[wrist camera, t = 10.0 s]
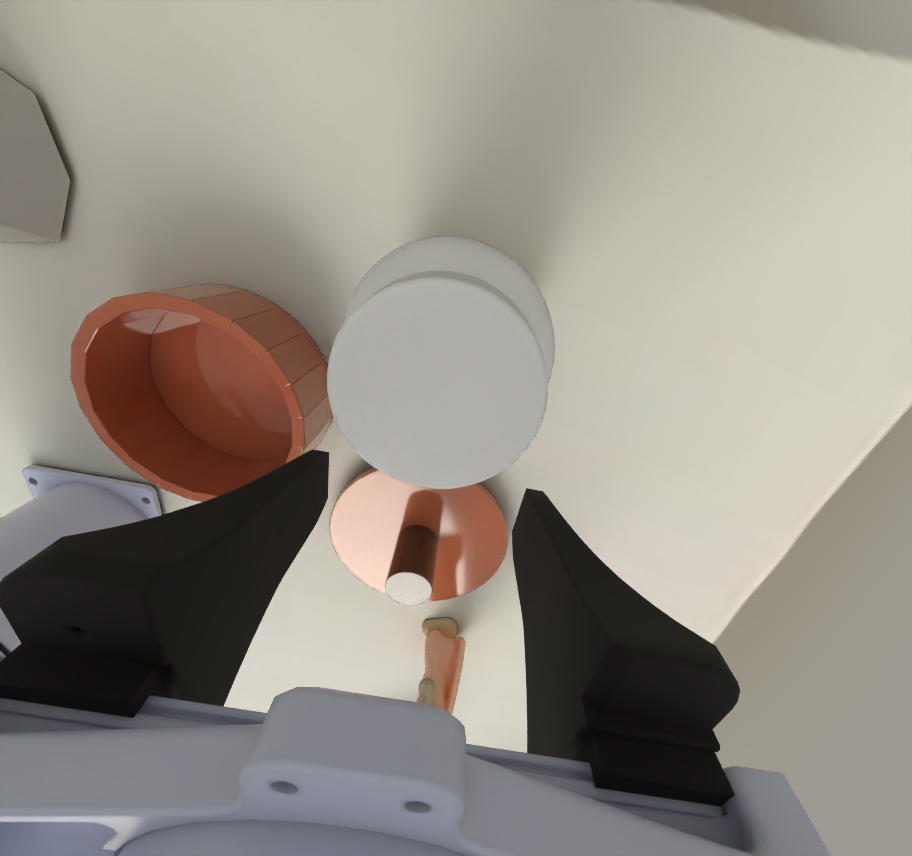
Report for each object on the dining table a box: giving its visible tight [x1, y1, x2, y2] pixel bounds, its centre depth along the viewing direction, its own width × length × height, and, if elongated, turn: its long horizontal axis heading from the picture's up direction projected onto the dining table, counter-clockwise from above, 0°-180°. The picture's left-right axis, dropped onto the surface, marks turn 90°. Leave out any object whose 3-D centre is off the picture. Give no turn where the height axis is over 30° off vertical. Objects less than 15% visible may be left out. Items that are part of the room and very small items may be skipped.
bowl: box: [70, 284, 333, 502], centre depth 18 cm, size 10×10×4 cm
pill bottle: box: [327, 236, 555, 489], centre depth 12 cm, size 6×6×11 cm
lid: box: [330, 468, 508, 605], centre depth 22 cm, size 11×11×5 cm
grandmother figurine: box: [417, 618, 465, 714], centre depth 23 cm, size 8×4×13 cm, turn 11°
